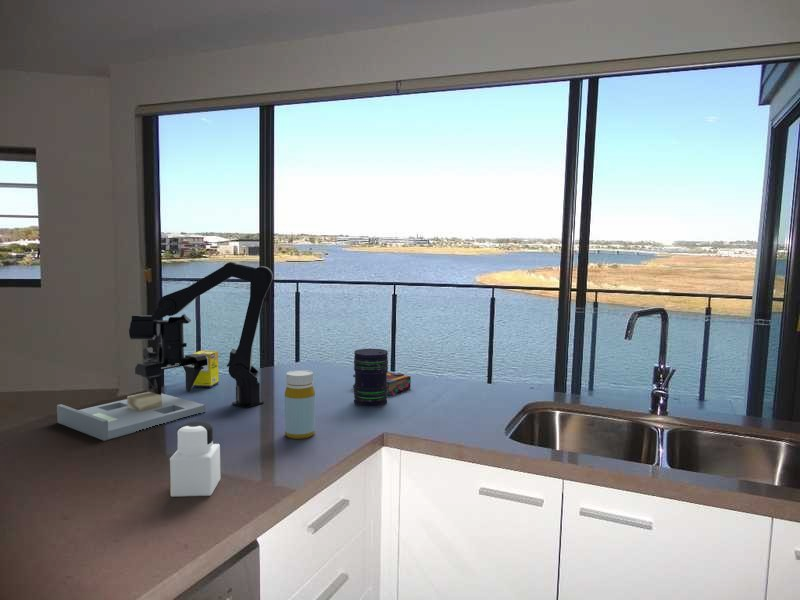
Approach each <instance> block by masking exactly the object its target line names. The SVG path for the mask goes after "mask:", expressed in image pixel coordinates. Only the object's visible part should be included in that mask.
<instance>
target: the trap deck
mask: <svg viewBox="0 0 800 600" xmlns="http://www.w3.org/2000/svg"><path fill="white" fill-rule="evenodd" d="M161 395H162V406H161V407H157V408H153V409H149V410H145V411H141V412H140V411H137V410H133V409H130V408H128V407H127V398H126V399H122V400H117V401H113V402H108V403H104V404H99V405H95V406H91V407H86V408H82V409H75V408H73V407H70V406H67V405H65V404H61V403H60V404H57V405H56V416H57V418H56V419H57V423H58V424H60V425H63V426H65V427H67V428H70V429H72V430H73V429H74V430H76V431H78V432H81V433H83V434H86V435H87V436H90V437H94V438H96V439H98V440H101V441H104V442H105V441H108V440H111V439H116V438H118V437H122V436H123V437H124V436H126V435H130V434H133V433H136V431H137V432H139V430H141V431H143V430H142V429H144V430H147V429H146V428H148V429H150V428H149V427H151V428H153V427H152V426H155V425H158V426H160V425H159V424H162V425H164V424H163V423H165V424H167V423H166V422H169V423H171V422H170V421H173V420H176V419H179V418H183V417H186V416H189V415H194V414H197V415H199V414H198V413H201V414H204V413H203V412H205V413H206V404H203V403H199V402H196V401H192V400H188V399H186V398H185V399H184V398H180V397H177V396H174V395H170V394H165V393H162V392H161ZM173 411H174V412H173ZM194 416H195V415H194ZM183 419H184V418H183ZM176 421H177V420H176ZM173 422H174V421H173ZM155 427H156V426H155Z"/></svg>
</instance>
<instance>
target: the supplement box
mask: <svg viewBox="0 0 800 600" xmlns="http://www.w3.org/2000/svg"><path fill="white" fill-rule="evenodd" d="M192 354H200V355H205V356H206V357H207V359H208V365H206V366H202V367H204V369H201V371H200V373H199V374H198V376H197V378H196V380H195V382H194V384H193V386H192V388H202V387H207V388H208V387H209V388H208V389H211V387H212V388H213V387H215V386H217V385H219V384H218V383H220V382H219V381H220V380H219V378H220V377H219V376H220V375H219V373H220V372H219V351H218V350H198V351H196V352H193V353H192ZM216 384H217V385H216ZM214 385H215V386H214ZM207 388H206V389H207Z"/></svg>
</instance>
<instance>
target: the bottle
mask: <svg viewBox="0 0 800 600" xmlns="http://www.w3.org/2000/svg"><path fill="white" fill-rule="evenodd" d="M285 375H286V378H285V379H286V388H285V391H284V434H285V436H287V437H288V438H289V439H293V440H304V439H309V438H311V437H312V436H313V435H314V434H315V432H316V393H315V392H316V391H315V388H314V372H313V371H311V370H308V369H307V370H306V369H297V370H295V369H294V370H290V371H287V372H286V374H285Z"/></svg>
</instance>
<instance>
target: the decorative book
mask: <svg viewBox="0 0 800 600" xmlns="http://www.w3.org/2000/svg"><path fill="white" fill-rule="evenodd" d="M352 377H353V378H355V373H354V374H353V375H352ZM411 380H412V379H411V376H410V375H406V374H404V373H402V372H397V373H395V372H390V371H387V384H388V389H387V390H388V394H387V396H396V394H397V393H400V392H403V391H407V390H409V389H411V384H412V381H411ZM352 387H353V389H354V384H353V385H352Z"/></svg>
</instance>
